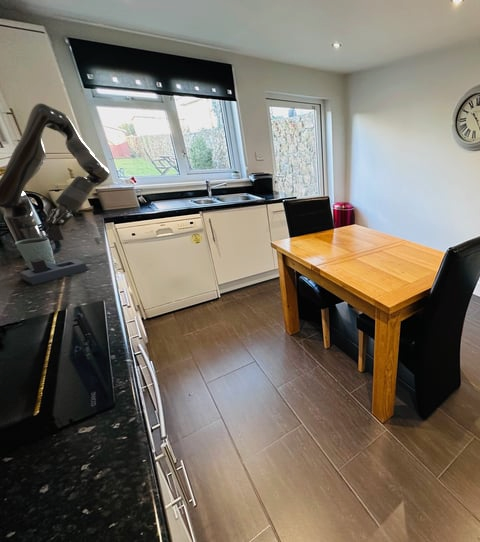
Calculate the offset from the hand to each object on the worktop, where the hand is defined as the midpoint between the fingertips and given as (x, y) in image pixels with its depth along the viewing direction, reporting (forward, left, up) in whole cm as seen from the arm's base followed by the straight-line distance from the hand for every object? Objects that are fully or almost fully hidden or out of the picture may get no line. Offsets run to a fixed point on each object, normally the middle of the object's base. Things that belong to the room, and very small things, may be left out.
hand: (47, 231), depth 118 cm
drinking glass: (-13, -7, -18) cm, 24 cm away
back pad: (-1, +2, -4) cm, 5 cm away
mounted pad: (+6, -5, -18) cm, 20 cm away
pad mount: (+4, -2, -18) cm, 19 cm away
